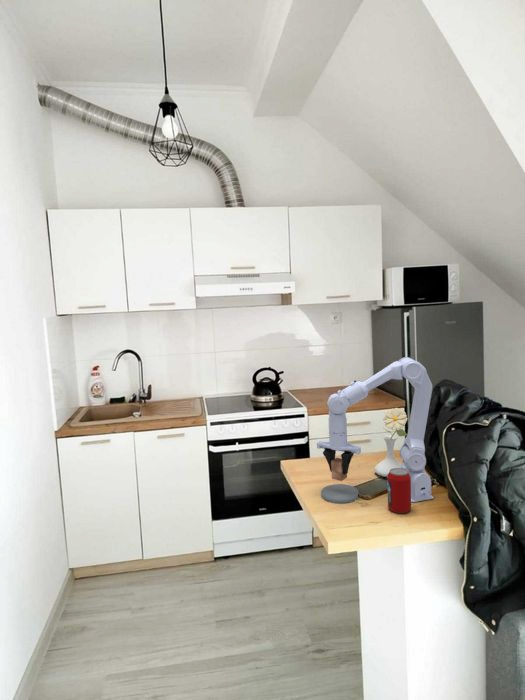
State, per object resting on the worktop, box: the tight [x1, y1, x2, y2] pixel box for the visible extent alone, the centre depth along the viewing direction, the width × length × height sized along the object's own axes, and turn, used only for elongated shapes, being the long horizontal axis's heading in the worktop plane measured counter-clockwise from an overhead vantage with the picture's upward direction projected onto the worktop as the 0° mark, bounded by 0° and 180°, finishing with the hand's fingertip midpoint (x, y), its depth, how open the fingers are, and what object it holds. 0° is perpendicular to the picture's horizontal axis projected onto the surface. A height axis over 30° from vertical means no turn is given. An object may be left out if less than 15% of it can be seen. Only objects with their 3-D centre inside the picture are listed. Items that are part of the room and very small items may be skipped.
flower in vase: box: [374, 407, 408, 478], centre depth 170 cm, size 13×11×25 cm
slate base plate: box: [320, 483, 360, 504], centre depth 155 cm, size 12×12×2 cm
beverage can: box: [386, 468, 412, 514], centre depth 143 cm, size 7×7×12 cm
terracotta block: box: [330, 457, 348, 482], centre depth 154 cm, size 4×4×6 cm
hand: (339, 472), depth 155 cm, fingers closed on terracotta block, 4 cm apart
